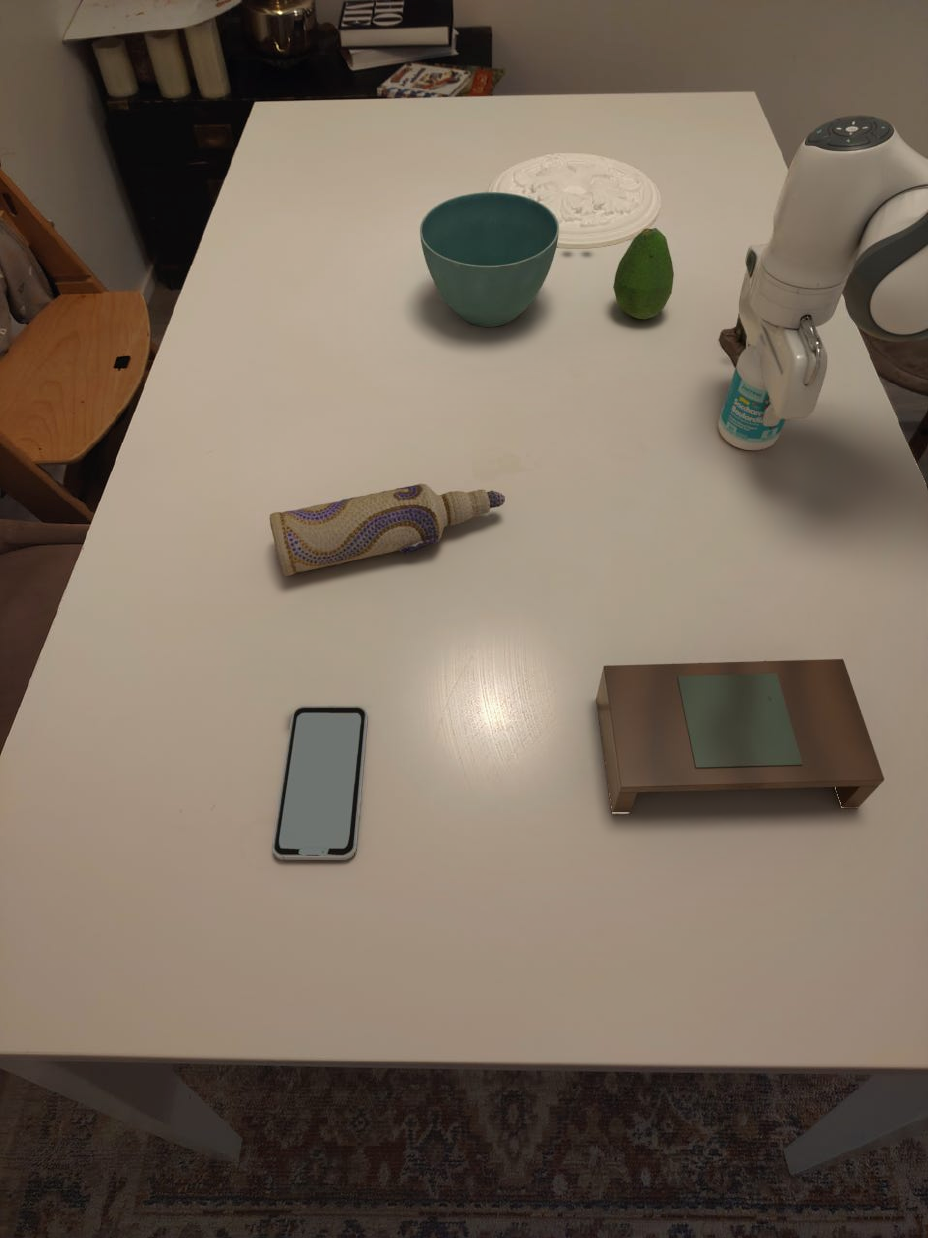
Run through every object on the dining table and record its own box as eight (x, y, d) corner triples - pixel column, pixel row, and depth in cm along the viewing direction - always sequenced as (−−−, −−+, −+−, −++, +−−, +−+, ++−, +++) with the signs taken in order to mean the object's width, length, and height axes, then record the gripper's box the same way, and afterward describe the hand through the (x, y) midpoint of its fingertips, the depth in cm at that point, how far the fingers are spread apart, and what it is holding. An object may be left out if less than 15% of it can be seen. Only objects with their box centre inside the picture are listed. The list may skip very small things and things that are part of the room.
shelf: (821, 691, 80) (844, 657, 75) (858, 808, 73) (886, 779, 68) (596, 698, 80) (603, 664, 75) (611, 815, 74) (621, 786, 68)
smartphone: (368, 705, 80) (355, 857, 71) (369, 710, 80) (356, 861, 71) (292, 705, 80) (269, 857, 71) (294, 711, 80) (271, 861, 71)
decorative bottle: (284, 592, 89) (271, 551, 83) (276, 541, 93) (263, 499, 88) (514, 542, 92) (516, 500, 87) (495, 495, 96) (496, 452, 91)
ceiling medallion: (617, 266, 123) (620, 246, 121) (456, 219, 132) (455, 199, 129) (686, 182, 137) (690, 163, 135) (536, 145, 146) (537, 125, 143)
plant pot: (425, 351, 112) (419, 268, 102) (424, 275, 123) (419, 192, 113) (558, 347, 112) (566, 263, 102) (546, 271, 123) (551, 188, 113)
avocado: (653, 293, 119) (668, 211, 109) (675, 325, 115) (692, 243, 105) (601, 302, 118) (611, 221, 108) (621, 335, 114) (634, 253, 104)
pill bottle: (714, 448, 100) (743, 355, 89) (718, 408, 105) (746, 314, 94) (778, 457, 99) (815, 364, 88) (779, 417, 103) (815, 323, 92)
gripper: (856, 351, 80) (809, 457, 91) (801, 236, 92) (765, 342, 103) (791, 353, 80) (752, 458, 91) (744, 238, 92) (715, 343, 103)
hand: (759, 396), depth 97 cm, fingers open, 8 cm apart
